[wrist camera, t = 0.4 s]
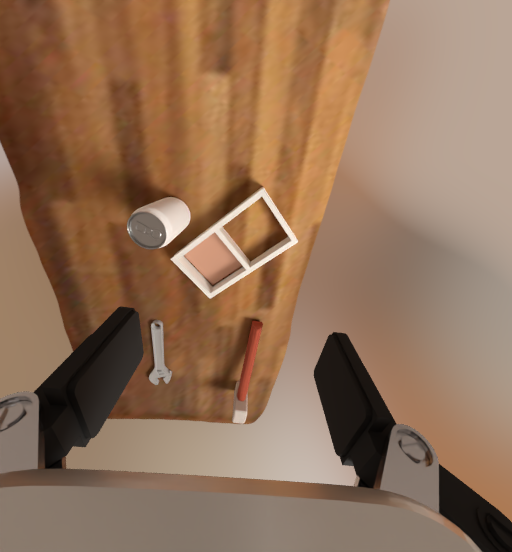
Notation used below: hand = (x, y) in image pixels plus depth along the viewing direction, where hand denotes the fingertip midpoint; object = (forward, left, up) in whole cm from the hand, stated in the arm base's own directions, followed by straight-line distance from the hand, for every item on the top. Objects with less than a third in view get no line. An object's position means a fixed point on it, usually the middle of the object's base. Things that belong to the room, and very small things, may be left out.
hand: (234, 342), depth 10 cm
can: (-8, -13, -35) cm, 38 cm away
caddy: (+4, -7, -34) cm, 35 cm away
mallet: (+34, -26, -35) cm, 55 cm away
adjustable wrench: (+18, -45, -35) cm, 60 cm away
